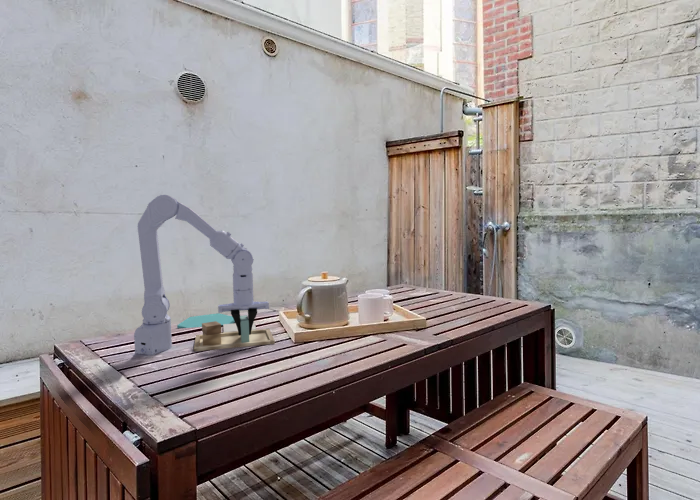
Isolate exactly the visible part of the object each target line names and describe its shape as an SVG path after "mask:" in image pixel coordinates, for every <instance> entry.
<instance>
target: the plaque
mask: <svg viewBox="0 0 700 500" xmlns="http://www.w3.org/2000/svg"><path fill="white" fill-rule="evenodd" d="M215 321H216V322H218V323H220V324H221V326H223V324H234V323H235V321H234V319H233V317H232V315H228V314H224V313H210V314H201V315H195V316H194V315H193V316H190V317H187V318H186V319H184V320H183V321H181V322H179V323H178V324H177V325H176V328H177V329H190V328H192V329H193V328H202V323H208V322H215Z"/></svg>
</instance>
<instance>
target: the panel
mask: <svg viewBox="0 0 700 500" xmlns="http://www.w3.org/2000/svg"><path fill="white" fill-rule="evenodd" d="M240 327H241V342H242V343H244V342H249V320H248V314H247V315H246V314H245V315H240Z"/></svg>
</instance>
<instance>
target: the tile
mask: <svg viewBox="0 0 700 500" xmlns="http://www.w3.org/2000/svg"><path fill="white" fill-rule="evenodd" d="M222 326H223V333H225V332H236V331H238V329H237V326H236V323H235V322H234V323H233V324H223V325H222ZM252 330H257V327H256V323H255V321H254V322H253V325H252Z"/></svg>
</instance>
